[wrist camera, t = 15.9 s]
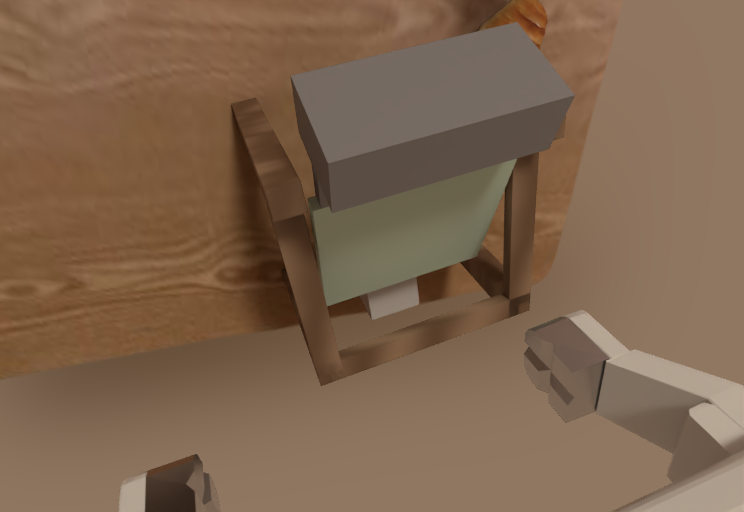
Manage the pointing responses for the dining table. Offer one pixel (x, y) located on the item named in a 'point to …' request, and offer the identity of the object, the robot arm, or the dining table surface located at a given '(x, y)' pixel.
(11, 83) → the dining table surface
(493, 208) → the trapdoor
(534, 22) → the pastry
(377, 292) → the light grey block
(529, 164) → the stand
